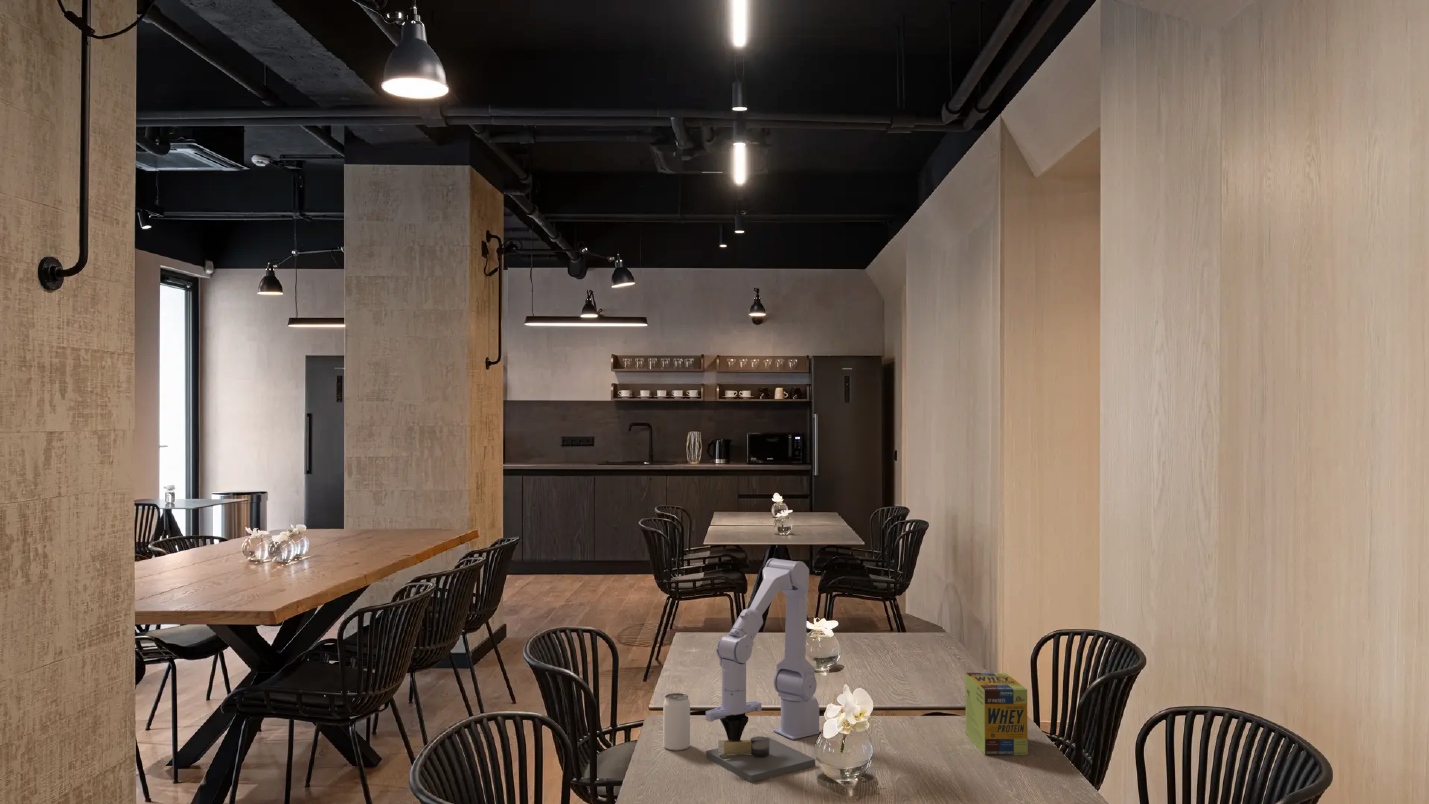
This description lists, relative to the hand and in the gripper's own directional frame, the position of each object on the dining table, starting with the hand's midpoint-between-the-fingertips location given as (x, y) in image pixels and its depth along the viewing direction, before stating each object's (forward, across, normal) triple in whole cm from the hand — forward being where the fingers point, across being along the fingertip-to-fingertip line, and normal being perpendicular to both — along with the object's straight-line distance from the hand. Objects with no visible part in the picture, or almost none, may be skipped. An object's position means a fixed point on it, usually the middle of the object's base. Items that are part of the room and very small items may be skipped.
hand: (733, 747), depth 211 cm
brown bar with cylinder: (+1, -1, +3) cm, 3 cm away
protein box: (+3, -59, +27) cm, 65 cm away
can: (+3, +7, -14) cm, 16 cm away
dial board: (+3, -4, +5) cm, 7 cm away
